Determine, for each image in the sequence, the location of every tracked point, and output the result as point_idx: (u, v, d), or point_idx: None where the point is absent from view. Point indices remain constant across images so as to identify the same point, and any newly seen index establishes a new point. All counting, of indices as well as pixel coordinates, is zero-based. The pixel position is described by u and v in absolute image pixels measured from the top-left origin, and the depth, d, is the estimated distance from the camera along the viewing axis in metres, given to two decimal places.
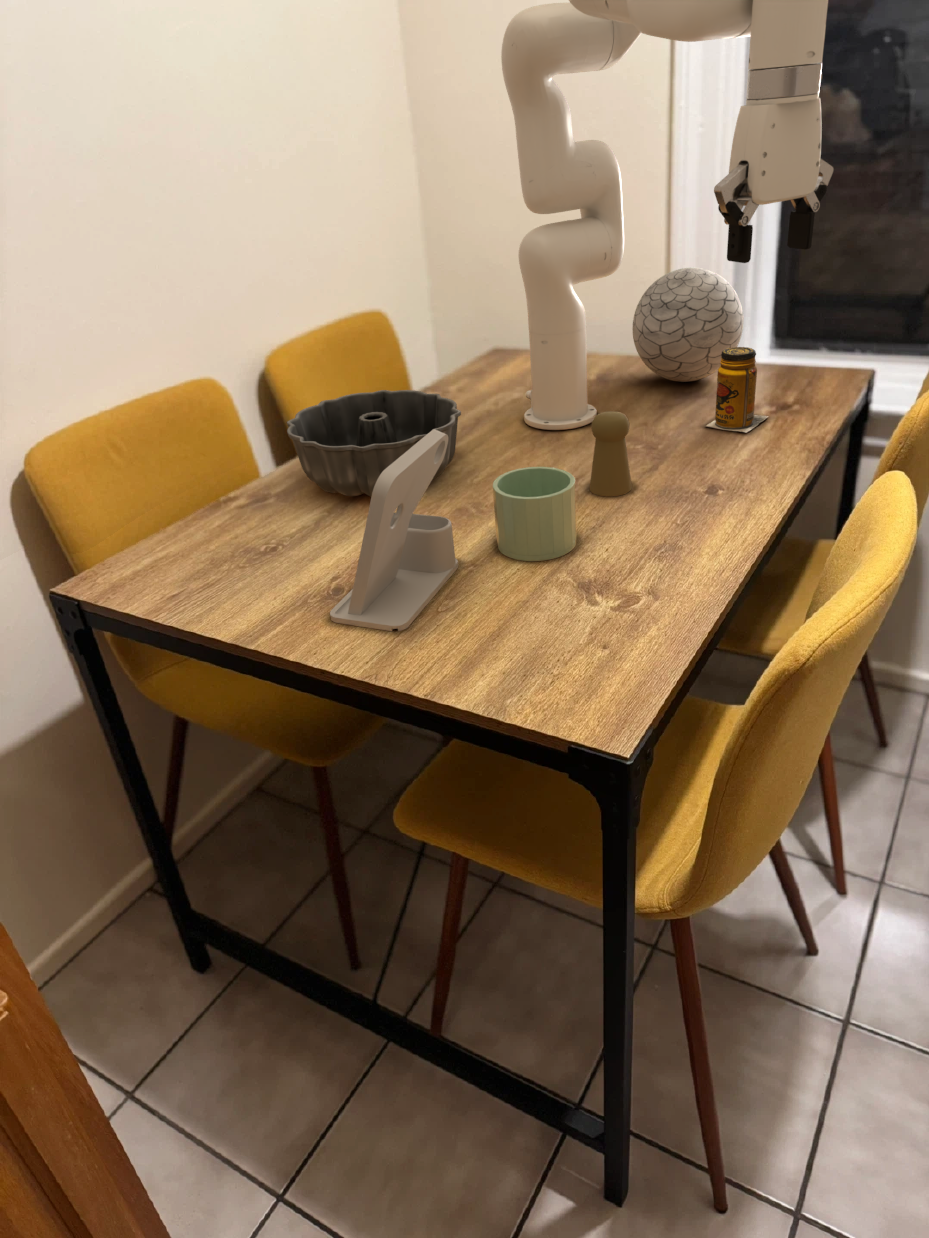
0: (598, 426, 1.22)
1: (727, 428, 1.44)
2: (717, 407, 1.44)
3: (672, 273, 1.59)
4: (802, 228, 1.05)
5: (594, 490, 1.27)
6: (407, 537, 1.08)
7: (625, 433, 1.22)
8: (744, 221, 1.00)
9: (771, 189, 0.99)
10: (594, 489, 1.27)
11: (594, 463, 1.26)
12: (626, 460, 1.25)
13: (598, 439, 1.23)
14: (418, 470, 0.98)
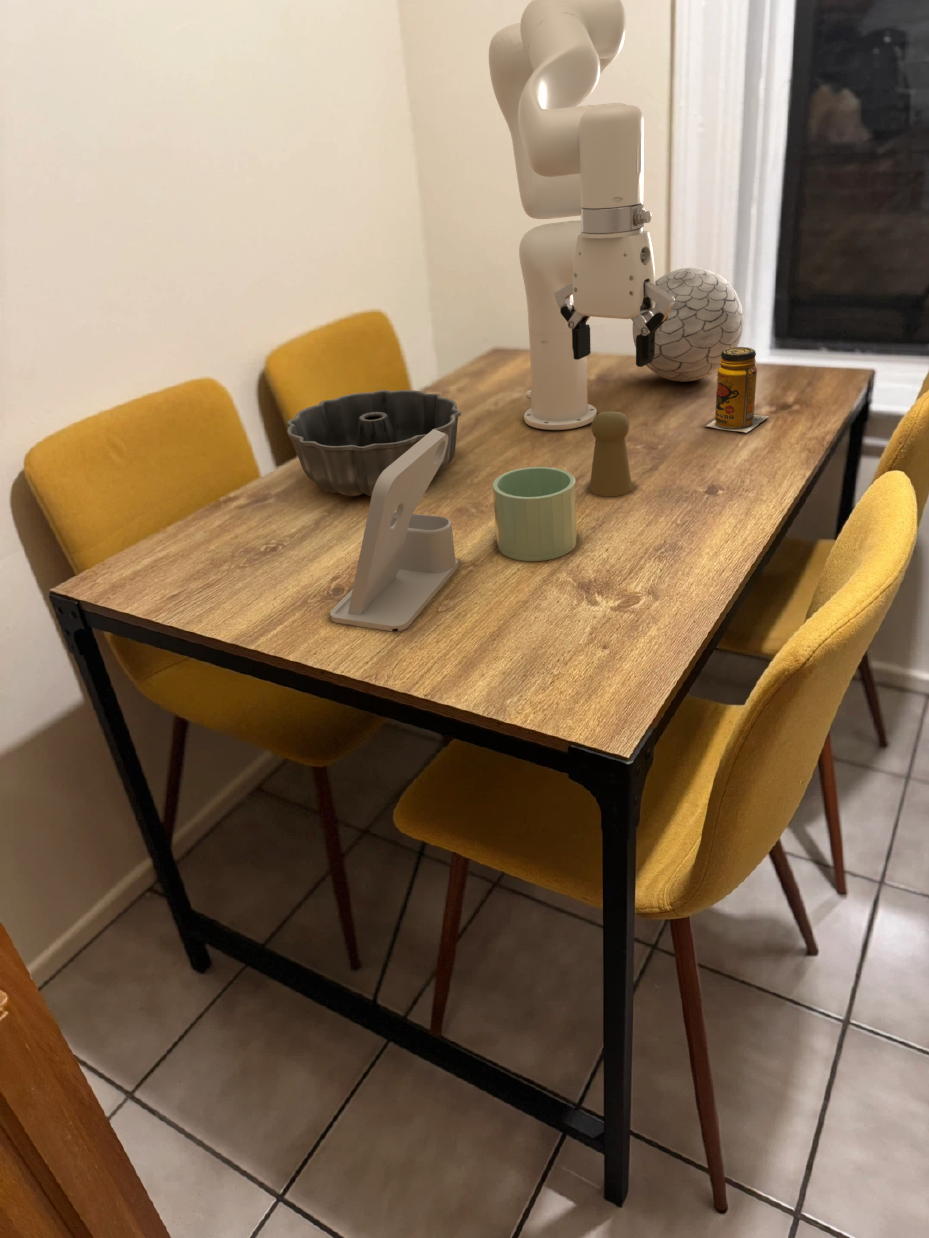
0: (598, 426, 1.22)
1: (727, 428, 1.44)
2: (717, 407, 1.44)
3: (672, 273, 1.59)
4: None
5: (594, 490, 1.27)
6: (407, 537, 1.08)
7: (625, 433, 1.22)
8: (571, 325, 1.19)
9: (584, 305, 1.15)
10: (594, 489, 1.27)
11: (594, 463, 1.26)
12: (626, 460, 1.25)
13: (598, 439, 1.23)
14: (418, 470, 0.98)
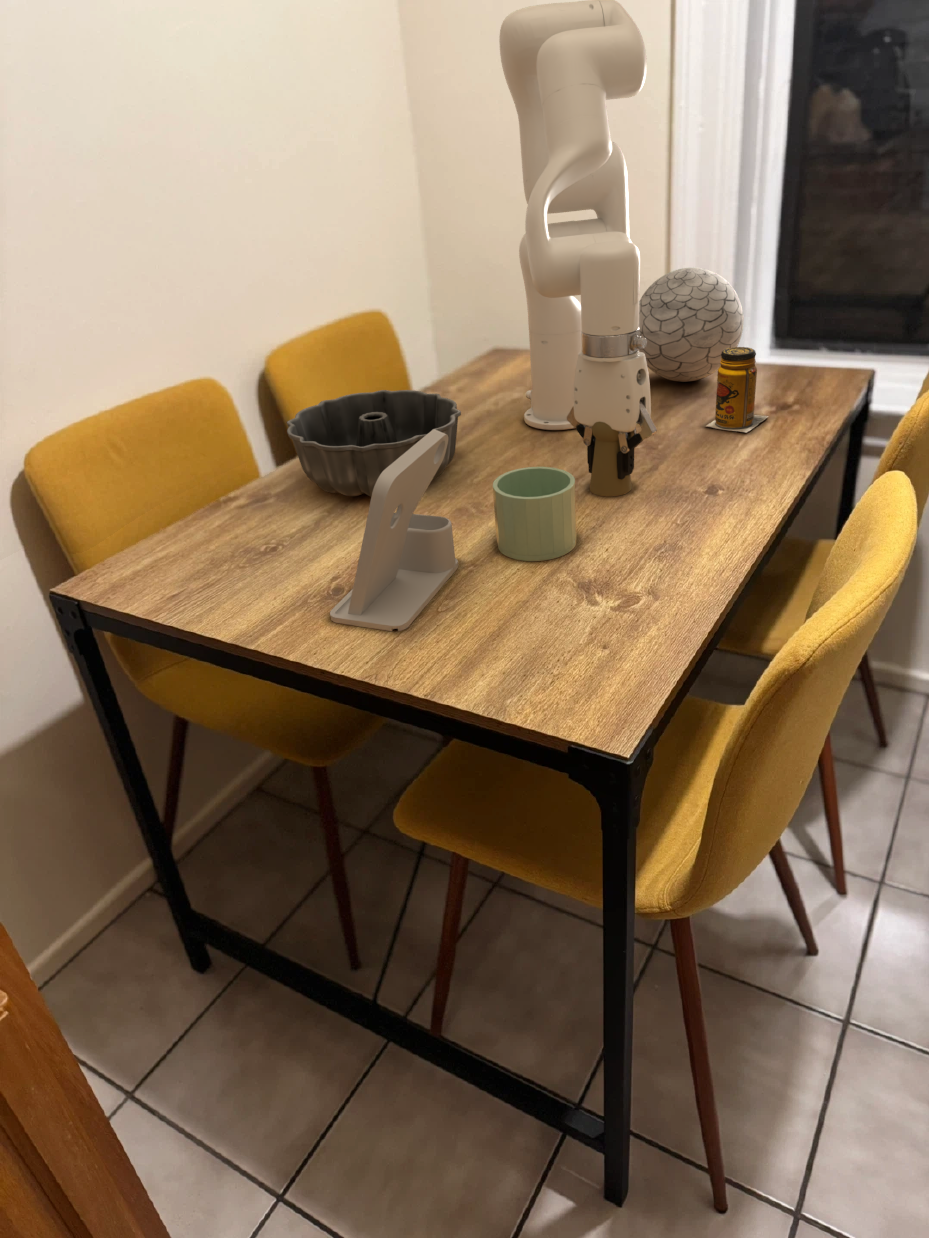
0: (597, 426, 1.22)
1: (727, 428, 1.44)
2: (717, 407, 1.44)
3: (672, 273, 1.59)
4: None
5: (594, 490, 1.27)
6: (407, 537, 1.08)
7: None
8: (586, 442, 1.26)
9: (584, 416, 1.23)
10: (594, 489, 1.27)
11: (594, 463, 1.26)
12: None
13: (598, 439, 1.23)
14: (418, 470, 0.98)
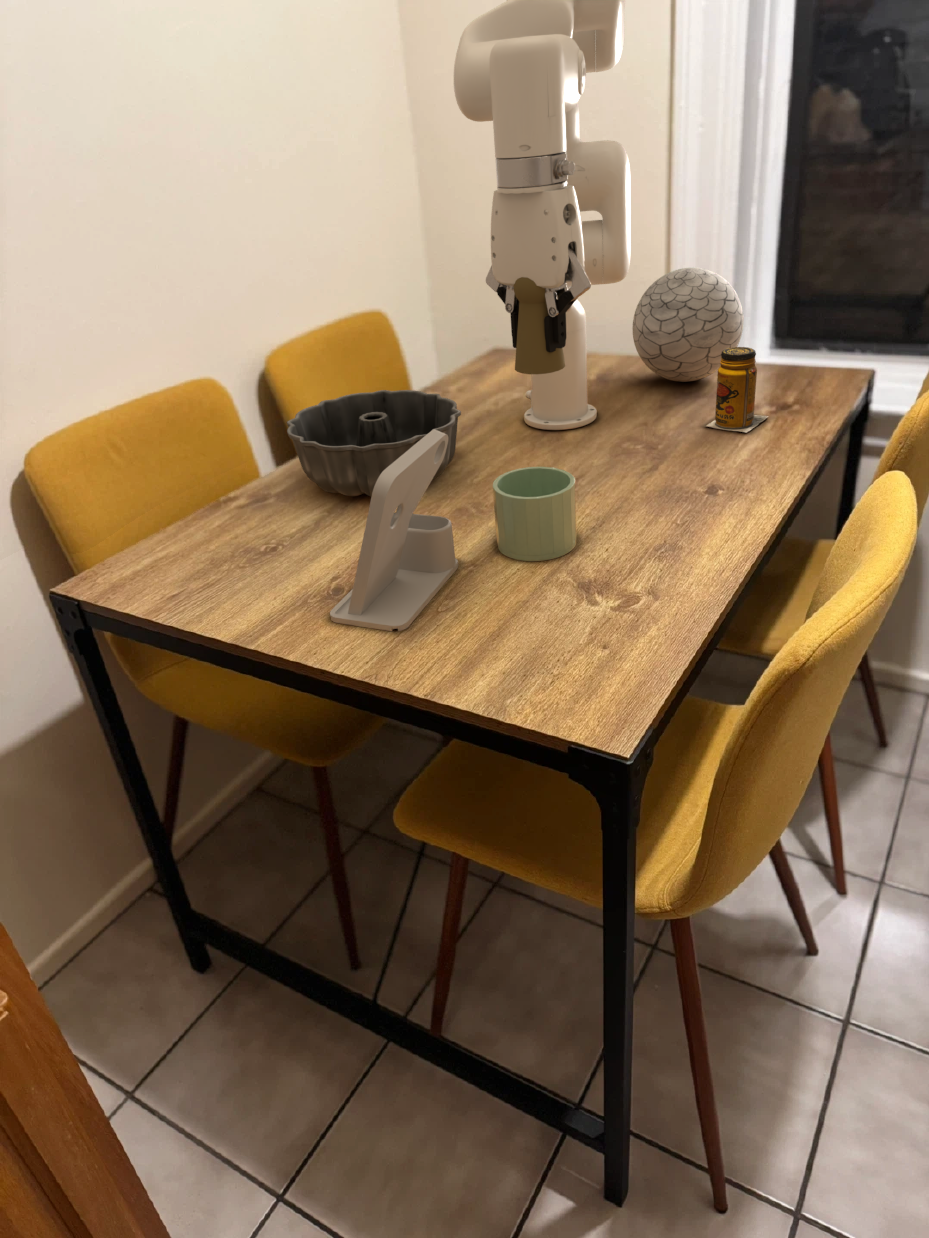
0: (519, 282, 0.99)
1: (727, 428, 1.44)
2: (717, 407, 1.44)
3: (672, 273, 1.59)
4: None
5: (519, 368, 1.04)
6: (407, 537, 1.08)
7: None
8: (509, 308, 1.03)
9: (504, 272, 1.00)
10: (519, 366, 1.04)
11: (518, 333, 1.03)
12: None
13: (521, 301, 1.01)
14: (418, 470, 0.98)
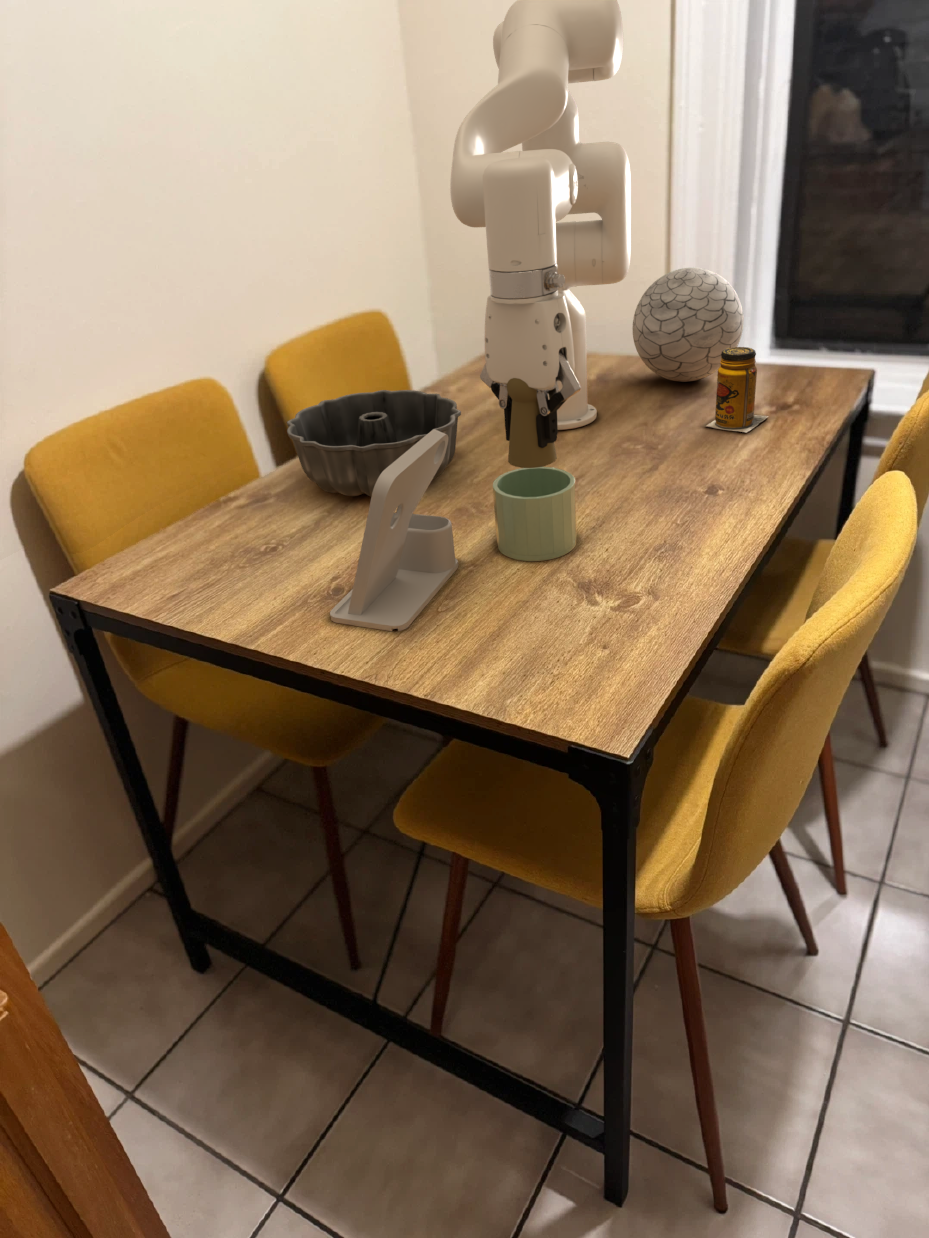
0: (512, 383, 1.03)
1: (727, 428, 1.44)
2: (717, 407, 1.44)
3: (672, 273, 1.59)
4: None
5: (512, 461, 1.08)
6: (407, 537, 1.08)
7: None
8: (502, 404, 1.07)
9: (497, 372, 1.04)
10: (512, 460, 1.08)
11: (511, 429, 1.07)
12: None
13: (514, 399, 1.04)
14: (418, 470, 0.98)
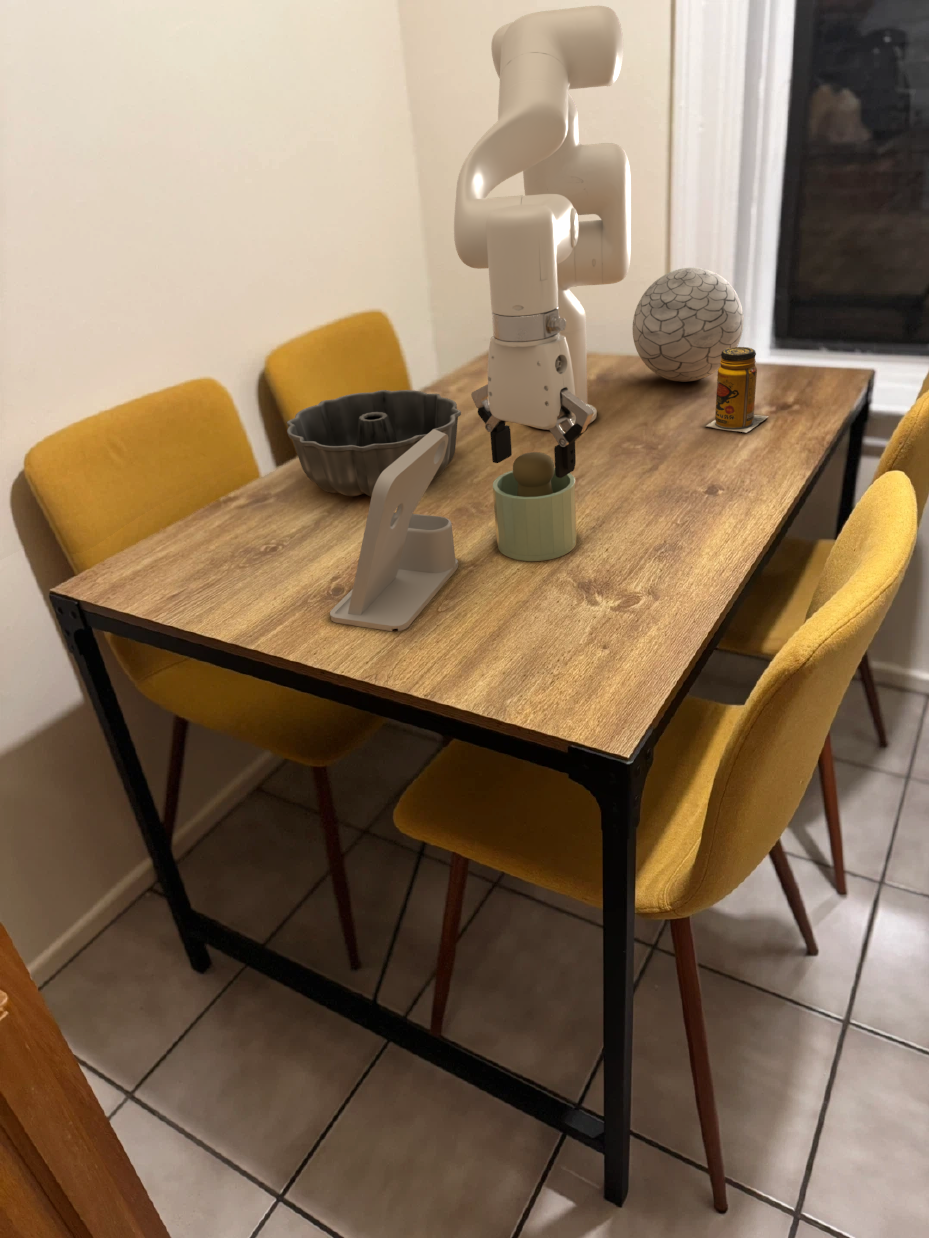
0: (517, 469, 1.09)
1: (727, 428, 1.44)
2: (717, 407, 1.44)
3: (672, 273, 1.59)
4: None
5: None
6: (407, 537, 1.08)
7: (549, 477, 1.09)
8: (489, 427, 1.10)
9: (500, 410, 1.06)
10: None
11: None
12: None
13: (519, 483, 1.10)
14: (418, 470, 0.98)
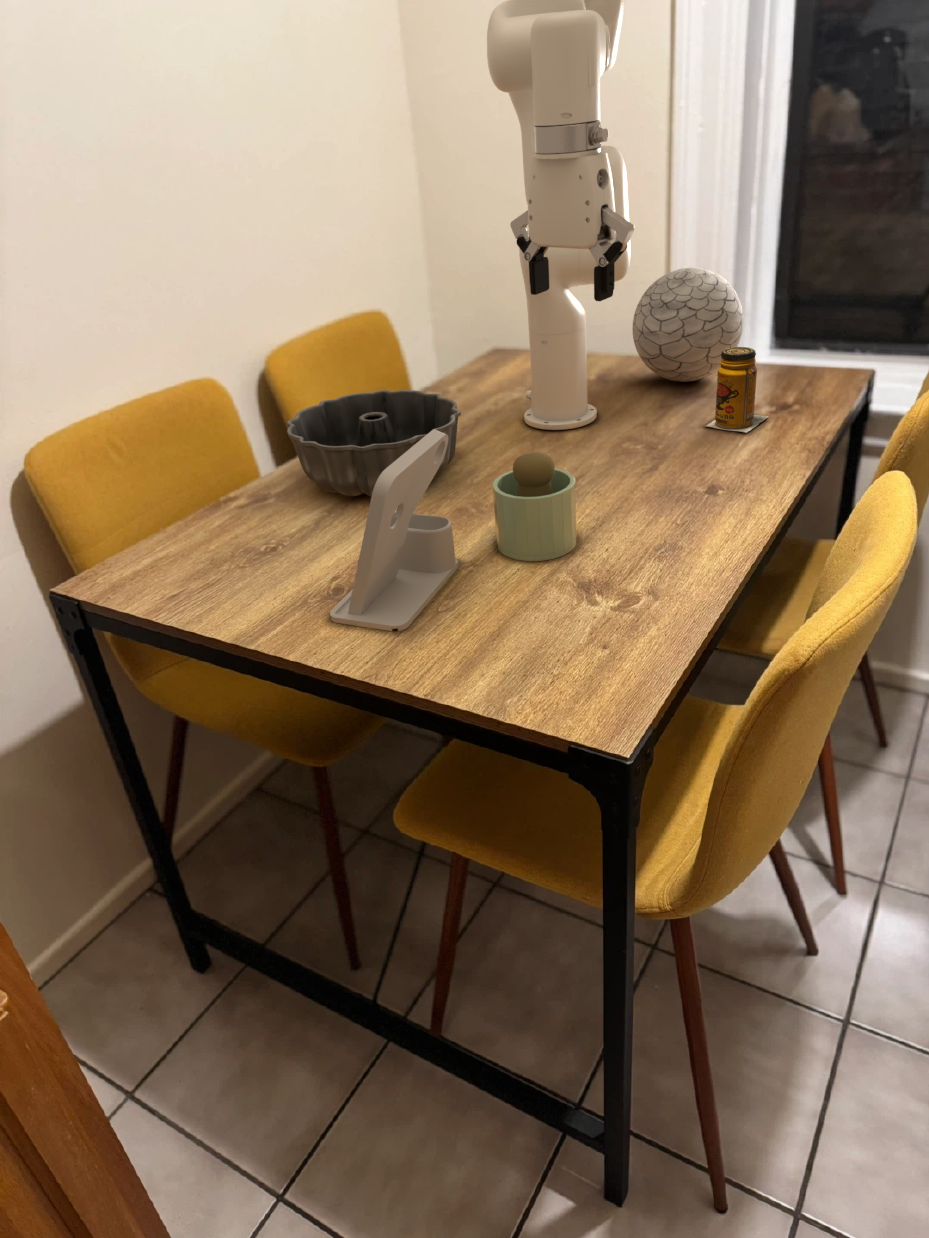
0: (518, 469, 1.09)
1: (727, 428, 1.44)
2: (717, 407, 1.44)
3: (672, 273, 1.59)
4: None
5: None
6: (407, 537, 1.08)
7: (549, 477, 1.09)
8: (527, 257, 1.11)
9: (540, 234, 1.08)
10: None
11: None
12: None
13: (519, 483, 1.10)
14: (418, 470, 0.98)
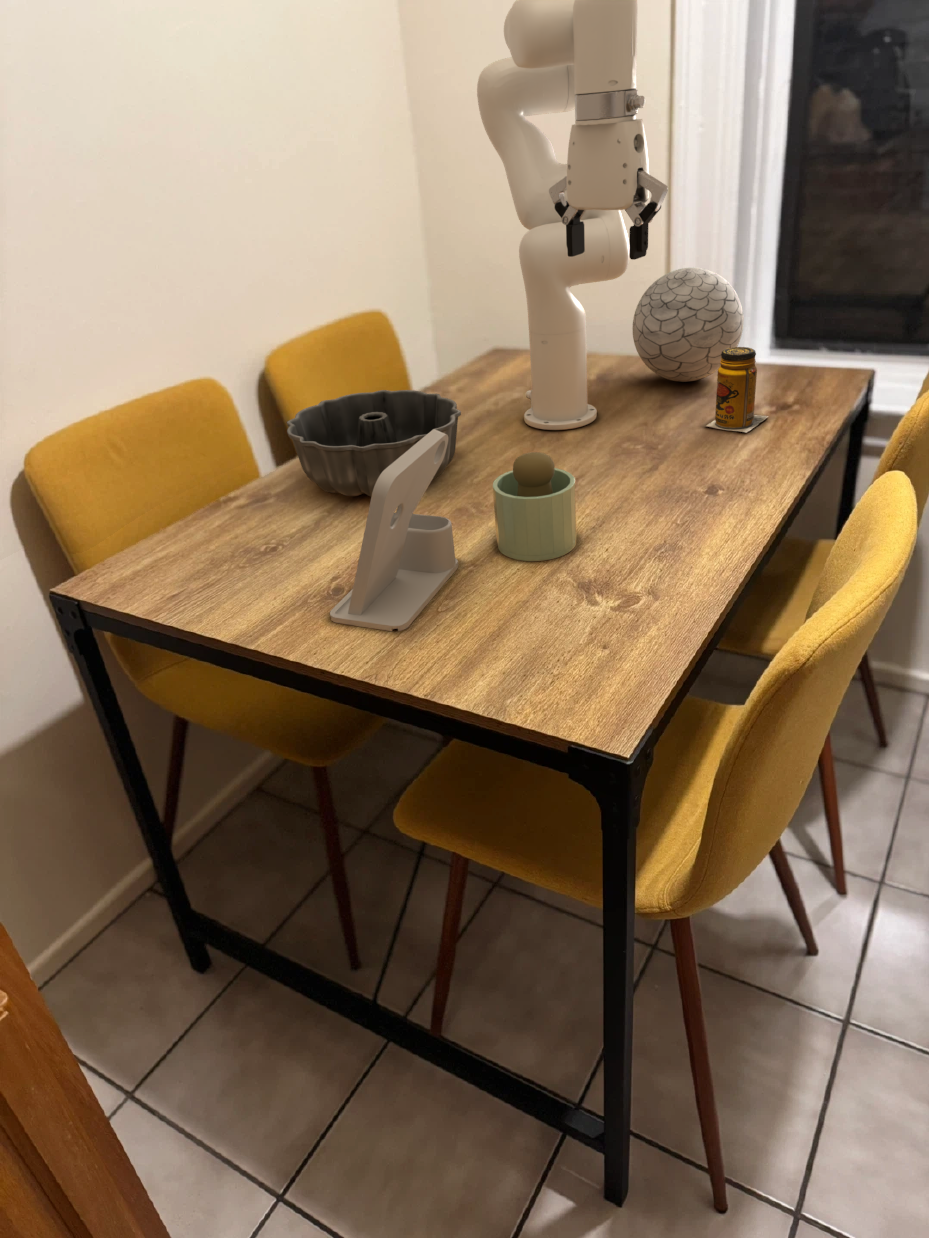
0: (518, 469, 1.09)
1: (727, 428, 1.44)
2: (717, 407, 1.44)
3: (672, 273, 1.59)
4: None
5: None
6: (407, 537, 1.08)
7: (549, 477, 1.09)
8: (565, 220, 1.19)
9: (578, 197, 1.15)
10: None
11: None
12: None
13: (519, 483, 1.10)
14: (418, 470, 0.98)
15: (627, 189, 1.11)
